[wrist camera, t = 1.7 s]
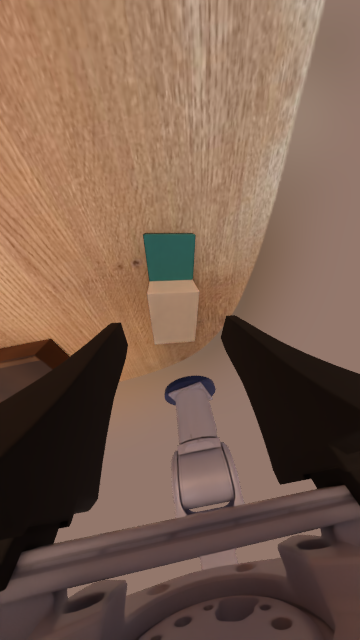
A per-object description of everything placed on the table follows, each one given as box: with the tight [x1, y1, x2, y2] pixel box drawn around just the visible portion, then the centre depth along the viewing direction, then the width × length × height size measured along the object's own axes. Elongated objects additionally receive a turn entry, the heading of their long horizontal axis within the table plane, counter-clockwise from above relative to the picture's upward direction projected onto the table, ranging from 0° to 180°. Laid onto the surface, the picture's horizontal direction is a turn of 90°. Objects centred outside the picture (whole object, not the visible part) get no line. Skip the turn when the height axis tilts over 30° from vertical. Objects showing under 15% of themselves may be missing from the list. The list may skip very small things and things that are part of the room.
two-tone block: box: [143, 233, 199, 344], centre depth 11 cm, size 8×4×5 cm, turn 0°
